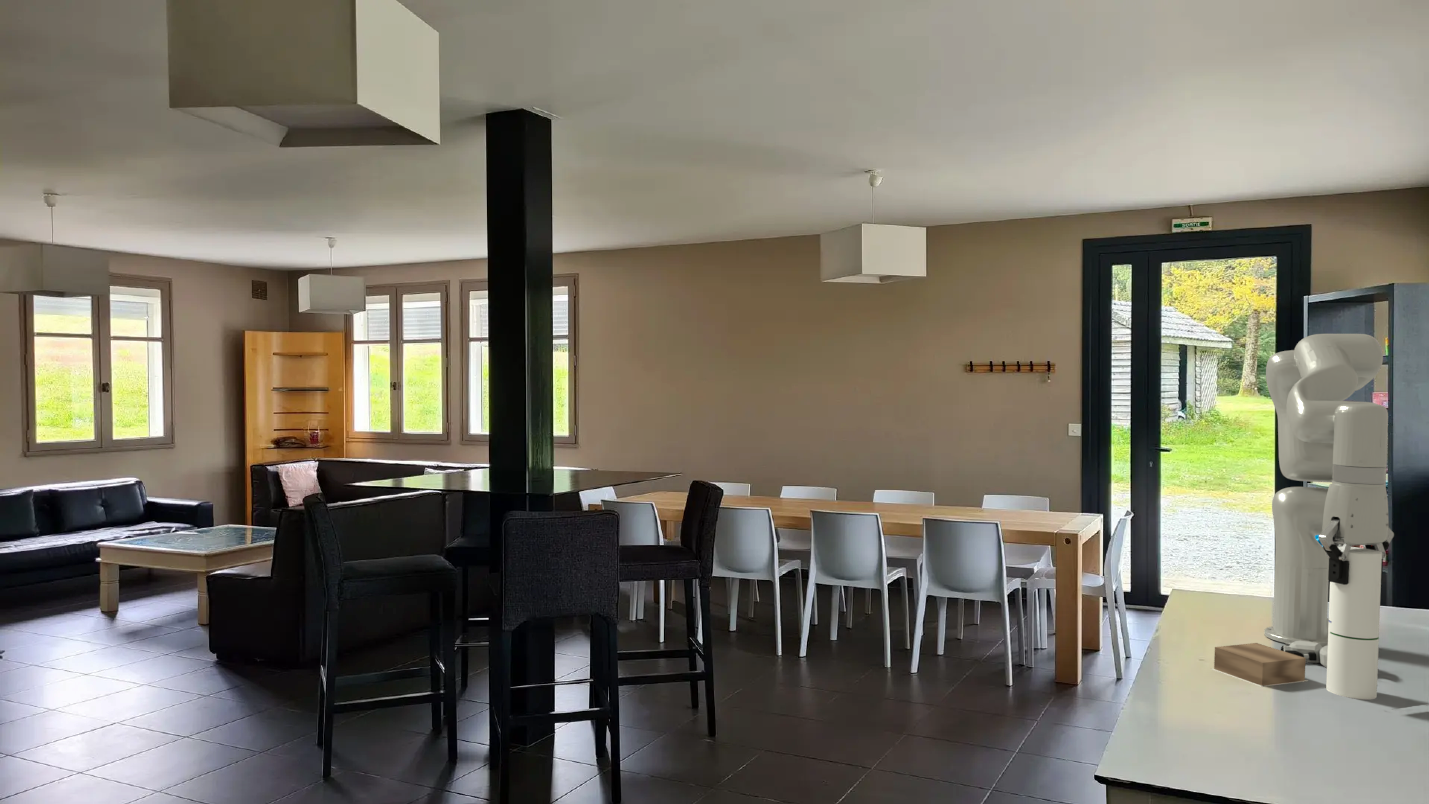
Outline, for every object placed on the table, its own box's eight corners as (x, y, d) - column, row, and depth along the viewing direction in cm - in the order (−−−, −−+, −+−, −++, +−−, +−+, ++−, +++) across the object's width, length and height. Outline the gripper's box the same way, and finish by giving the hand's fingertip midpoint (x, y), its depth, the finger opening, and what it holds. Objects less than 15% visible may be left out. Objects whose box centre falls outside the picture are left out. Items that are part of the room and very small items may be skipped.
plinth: (1255, 664, 179) (1256, 642, 179) (1304, 680, 170) (1305, 658, 170) (1214, 669, 176) (1214, 647, 176) (1262, 685, 167) (1262, 662, 167)
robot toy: (1273, 671, 182) (1368, 683, 172) (1271, 646, 182) (1366, 657, 172) (1289, 657, 191) (1380, 668, 181) (1288, 634, 191) (1379, 644, 181)
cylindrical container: (1369, 693, 166) (1374, 548, 166) (1382, 706, 160) (1388, 555, 159) (1321, 688, 169) (1326, 545, 168) (1332, 701, 162) (1337, 552, 161)
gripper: (1373, 473, 170) (1370, 574, 170) (1300, 475, 164) (1296, 580, 164) (1417, 478, 163) (1413, 583, 163) (1342, 480, 157) (1338, 589, 157)
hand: (1355, 580), depth 164 cm, fingers closed on cylindrical container, 7 cm apart
